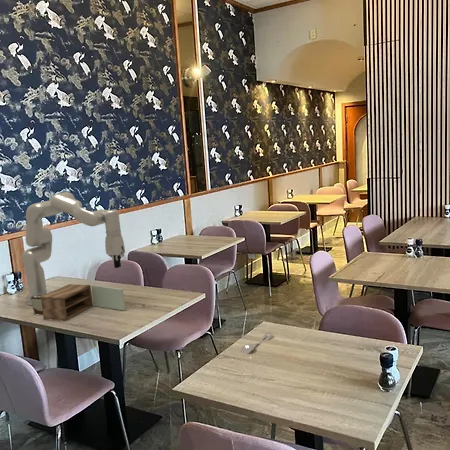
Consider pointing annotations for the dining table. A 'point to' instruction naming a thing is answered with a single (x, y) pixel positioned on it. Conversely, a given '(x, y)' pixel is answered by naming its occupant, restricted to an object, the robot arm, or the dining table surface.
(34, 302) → the food container
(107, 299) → the cabinet door
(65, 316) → the wooden shelf
